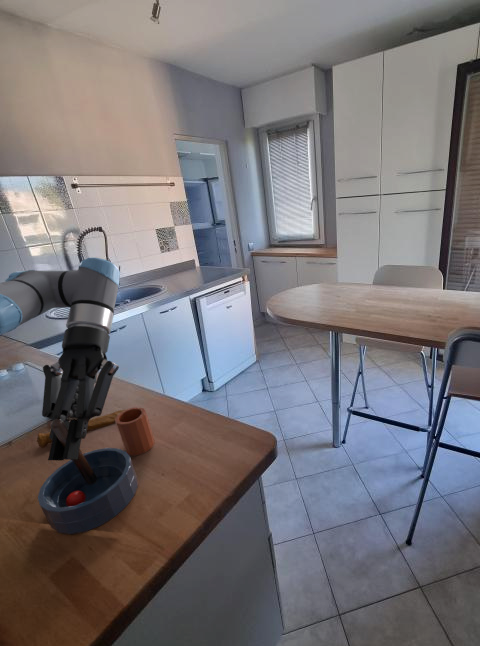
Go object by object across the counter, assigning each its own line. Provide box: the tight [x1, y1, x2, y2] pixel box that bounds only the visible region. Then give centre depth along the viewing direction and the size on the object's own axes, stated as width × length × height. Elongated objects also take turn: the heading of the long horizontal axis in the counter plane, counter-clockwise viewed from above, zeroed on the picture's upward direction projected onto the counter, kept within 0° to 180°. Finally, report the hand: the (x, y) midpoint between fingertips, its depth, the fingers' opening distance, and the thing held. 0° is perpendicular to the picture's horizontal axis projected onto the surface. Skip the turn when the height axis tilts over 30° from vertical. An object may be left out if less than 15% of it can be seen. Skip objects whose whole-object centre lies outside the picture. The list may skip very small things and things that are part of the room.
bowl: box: [37, 447, 139, 535], centre depth 62 cm, size 15×15×6 cm
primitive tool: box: [36, 409, 126, 449], centre depth 82 cm, size 19×6×4 cm, turn 127°
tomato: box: [66, 491, 86, 507], centre depth 61 cm, size 3×3×3 cm
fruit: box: [61, 381, 79, 419], centre depth 90 cm, size 9×8×15 cm
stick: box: [50, 419, 97, 485], centre depth 60 cm, size 2×2×17 cm
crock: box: [114, 406, 155, 456], centre depth 74 cm, size 6×6×9 cm
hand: (63, 459), depth 57 cm, fingers closed on stick, 2 cm apart
